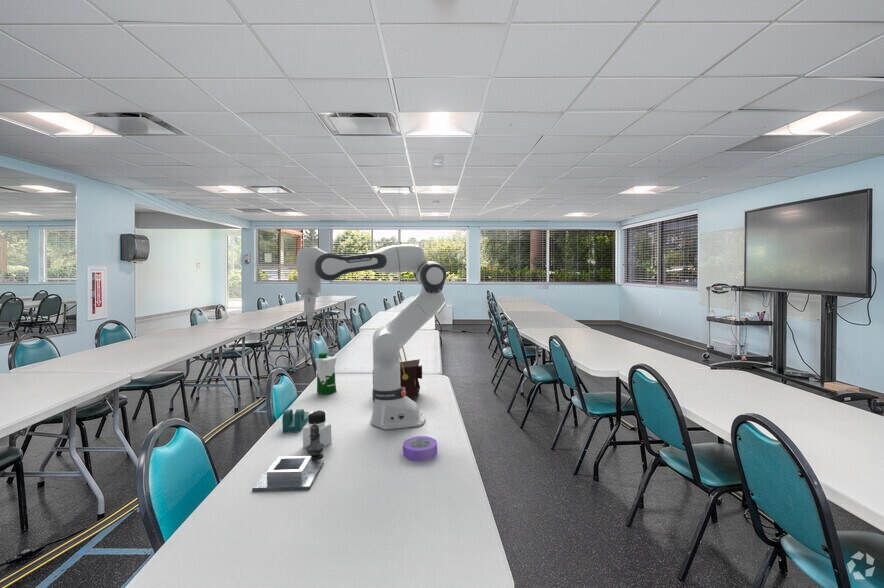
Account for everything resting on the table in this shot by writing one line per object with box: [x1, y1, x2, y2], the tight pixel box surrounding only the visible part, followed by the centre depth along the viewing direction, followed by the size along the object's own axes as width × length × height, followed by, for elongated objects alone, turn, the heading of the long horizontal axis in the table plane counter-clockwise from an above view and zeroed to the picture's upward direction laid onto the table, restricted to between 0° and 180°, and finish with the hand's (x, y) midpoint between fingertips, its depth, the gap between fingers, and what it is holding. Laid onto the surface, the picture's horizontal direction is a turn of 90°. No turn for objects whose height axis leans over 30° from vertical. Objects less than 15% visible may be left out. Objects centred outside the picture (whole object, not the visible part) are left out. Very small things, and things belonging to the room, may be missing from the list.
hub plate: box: [251, 455, 325, 492], centre depth 124 cm, size 16×16×4 cm
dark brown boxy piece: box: [372, 346, 423, 397], centre depth 203 cm, size 16×23×25 cm
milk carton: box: [314, 352, 337, 395], centre depth 213 cm, size 9×9×20 cm
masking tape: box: [402, 435, 438, 462], centre depth 139 cm, size 12×12×4 cm
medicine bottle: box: [302, 410, 332, 448], centre depth 147 cm, size 7×7×12 cm
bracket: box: [281, 408, 310, 433], centre depth 168 cm, size 18×7×8 cm, turn 5°
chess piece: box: [305, 422, 325, 461], centre depth 137 cm, size 6×6×12 cm
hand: (310, 323), depth 160 cm, fingers open, 8 cm apart
